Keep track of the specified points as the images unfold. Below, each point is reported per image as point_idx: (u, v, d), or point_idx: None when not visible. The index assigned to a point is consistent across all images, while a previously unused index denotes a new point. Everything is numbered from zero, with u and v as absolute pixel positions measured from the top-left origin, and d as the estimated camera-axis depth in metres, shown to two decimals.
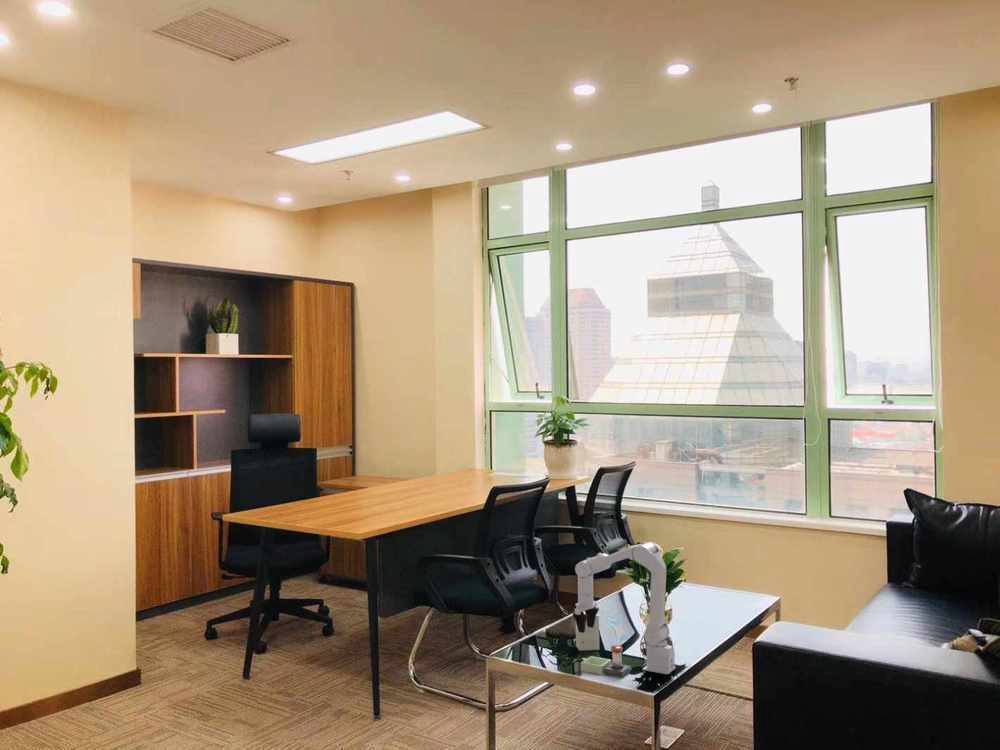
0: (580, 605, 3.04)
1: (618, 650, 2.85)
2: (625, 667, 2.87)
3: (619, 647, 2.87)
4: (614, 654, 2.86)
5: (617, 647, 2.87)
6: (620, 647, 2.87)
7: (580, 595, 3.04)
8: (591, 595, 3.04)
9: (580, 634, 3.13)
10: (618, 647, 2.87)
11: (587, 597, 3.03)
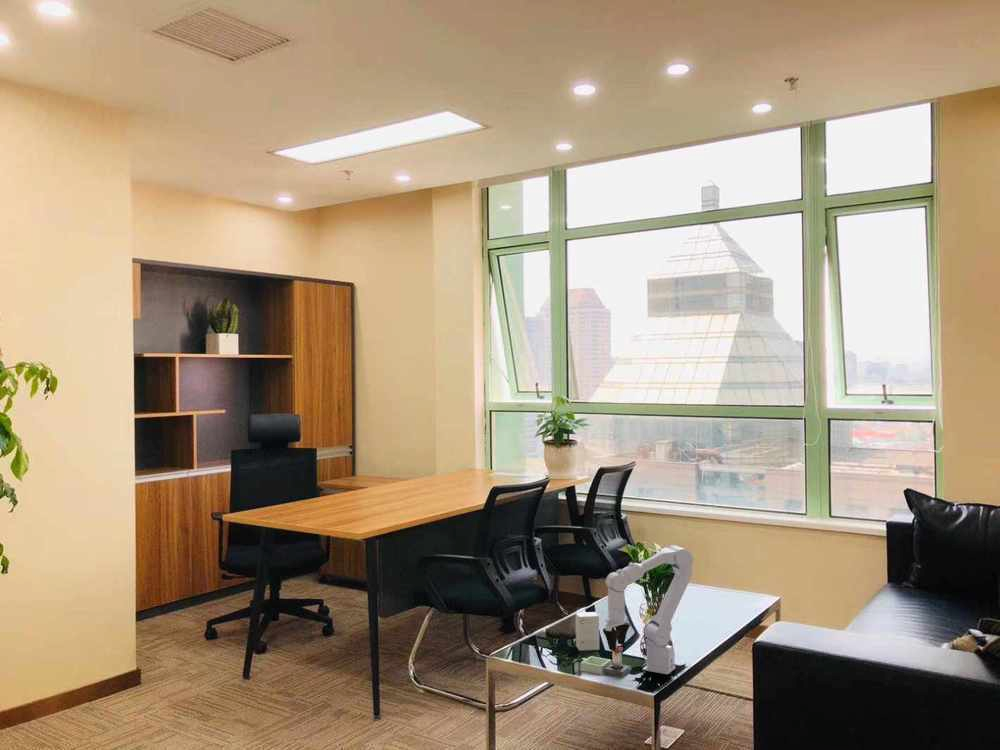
0: (611, 621, 2.85)
1: (618, 650, 2.85)
2: (625, 667, 2.87)
3: (619, 647, 2.87)
4: (614, 654, 2.86)
5: (617, 647, 2.87)
6: (620, 647, 2.87)
7: (611, 610, 2.86)
8: (622, 610, 2.85)
9: (580, 634, 3.13)
10: (618, 647, 2.87)
11: (618, 612, 2.85)
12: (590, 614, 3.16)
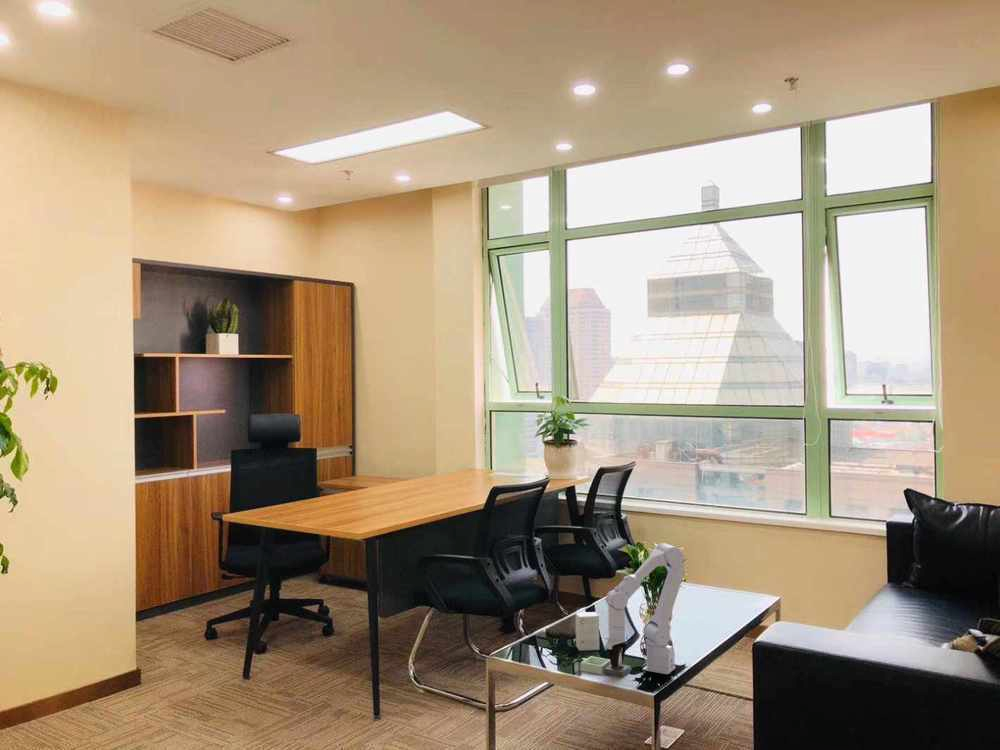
0: (611, 639, 2.85)
1: None
2: (625, 667, 2.87)
3: (619, 647, 2.87)
4: None
5: None
6: (620, 647, 2.87)
7: (611, 628, 2.85)
8: (623, 628, 2.85)
9: (580, 634, 3.13)
10: None
11: (618, 630, 2.85)
12: (590, 614, 3.16)
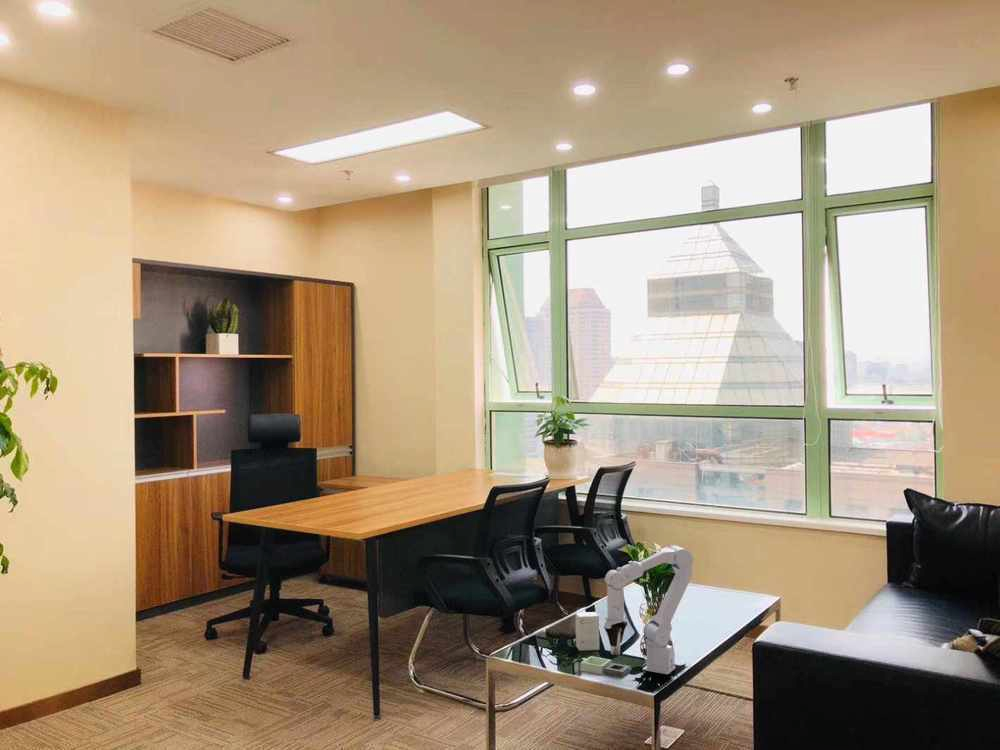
0: (610, 618, 2.86)
1: None
2: (625, 667, 2.87)
3: None
4: None
5: None
6: None
7: (610, 608, 2.86)
8: (622, 608, 2.86)
9: (580, 634, 3.13)
10: None
11: (617, 610, 2.85)
12: (590, 614, 3.16)
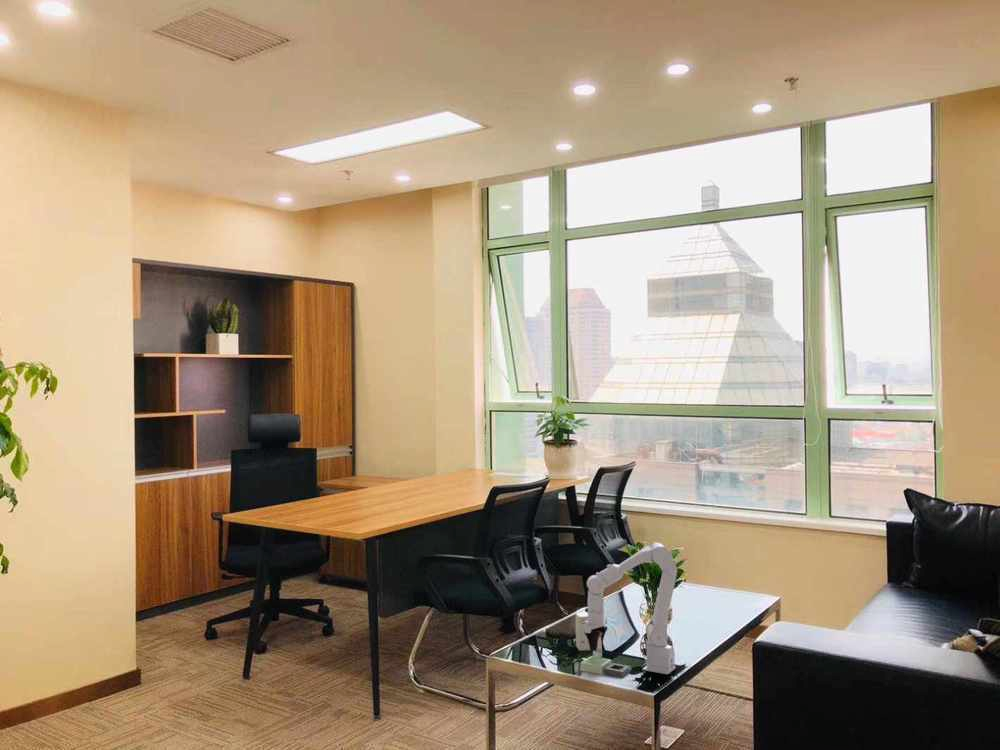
0: (590, 623, 2.90)
1: None
2: (625, 667, 2.87)
3: None
4: None
5: None
6: None
7: (590, 612, 2.90)
8: (601, 612, 2.90)
9: (580, 634, 3.13)
10: None
11: (597, 615, 2.89)
12: None
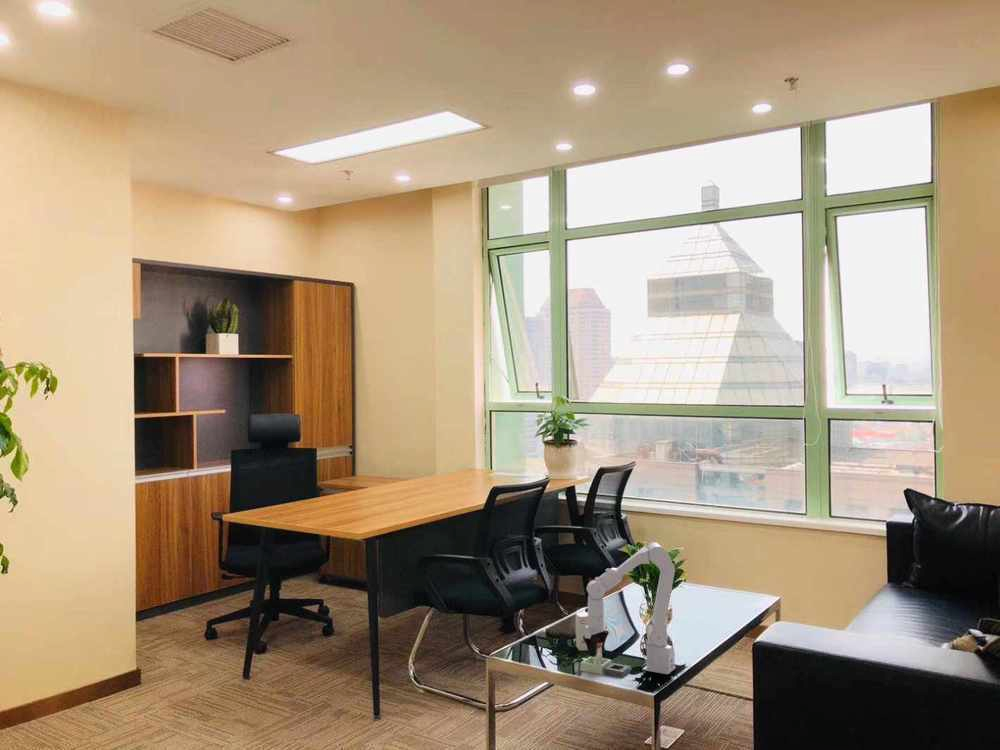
0: (590, 628, 2.90)
1: (598, 645, 2.89)
2: (625, 667, 2.87)
3: (599, 642, 2.91)
4: None
5: None
6: (600, 642, 2.91)
7: (590, 618, 2.90)
8: (602, 618, 2.90)
9: (580, 634, 3.13)
10: (598, 642, 2.91)
11: (597, 620, 2.89)
12: None
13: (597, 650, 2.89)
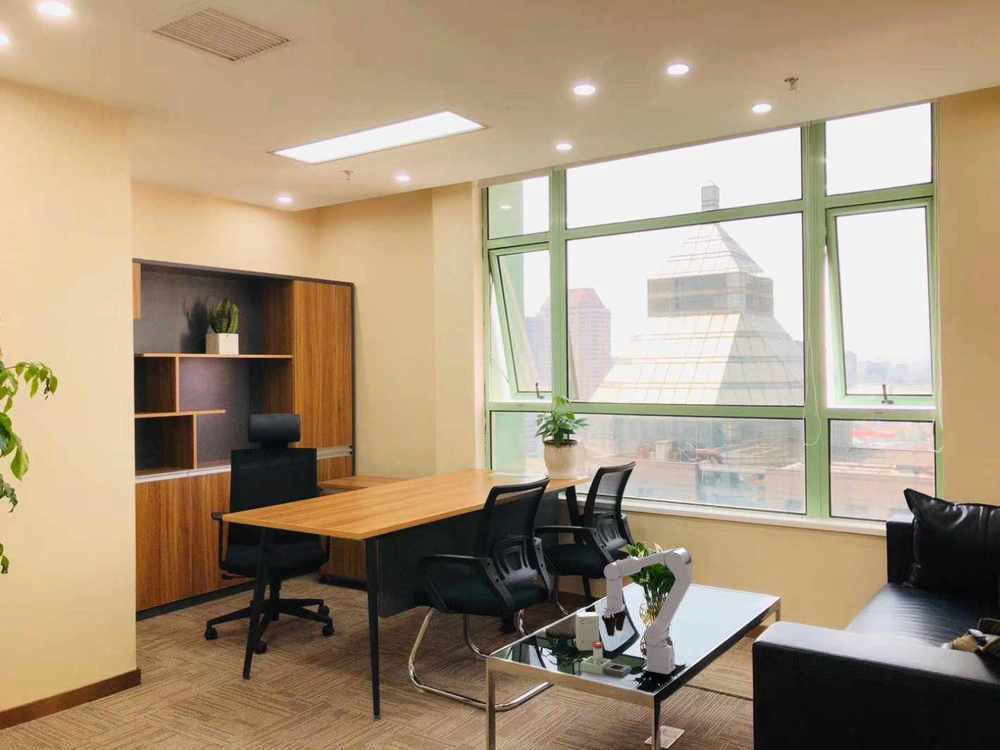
0: (609, 608, 2.98)
1: (599, 646, 2.89)
2: (625, 667, 2.87)
3: (600, 643, 2.90)
4: (595, 649, 2.89)
5: (598, 643, 2.90)
6: (601, 643, 2.90)
7: (609, 598, 2.98)
8: (620, 598, 2.98)
9: (580, 634, 3.13)
10: (599, 643, 2.90)
11: (616, 600, 2.97)
12: (590, 614, 3.16)
13: (598, 651, 2.89)
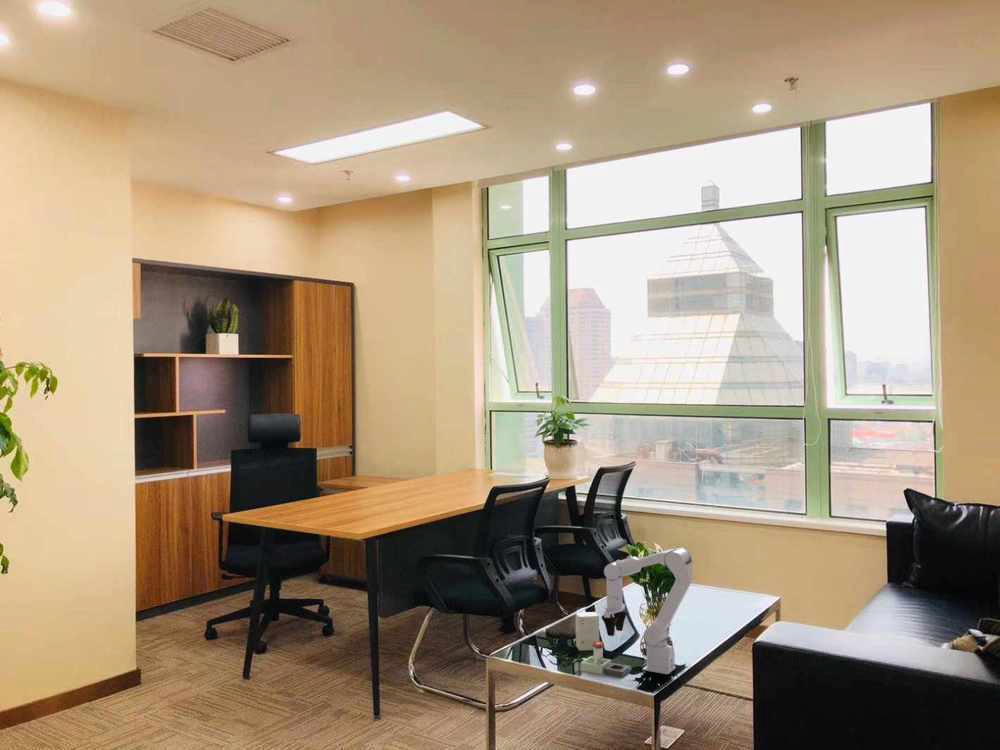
0: (609, 608, 2.98)
1: (599, 646, 2.89)
2: (625, 667, 2.87)
3: (600, 643, 2.90)
4: (595, 649, 2.89)
5: (598, 643, 2.90)
6: (601, 643, 2.90)
7: (609, 598, 2.98)
8: (620, 598, 2.98)
9: (580, 634, 3.13)
10: (600, 643, 2.90)
11: (616, 600, 2.97)
12: (590, 614, 3.16)
13: (598, 650, 2.89)
